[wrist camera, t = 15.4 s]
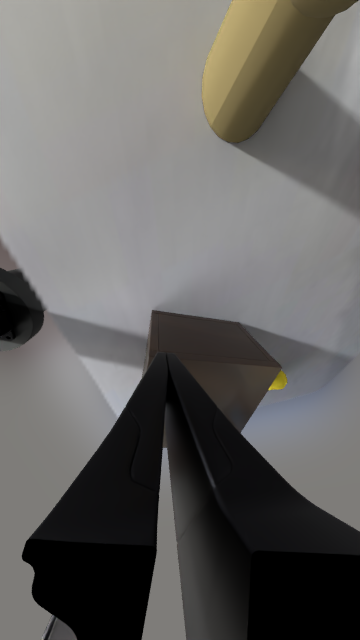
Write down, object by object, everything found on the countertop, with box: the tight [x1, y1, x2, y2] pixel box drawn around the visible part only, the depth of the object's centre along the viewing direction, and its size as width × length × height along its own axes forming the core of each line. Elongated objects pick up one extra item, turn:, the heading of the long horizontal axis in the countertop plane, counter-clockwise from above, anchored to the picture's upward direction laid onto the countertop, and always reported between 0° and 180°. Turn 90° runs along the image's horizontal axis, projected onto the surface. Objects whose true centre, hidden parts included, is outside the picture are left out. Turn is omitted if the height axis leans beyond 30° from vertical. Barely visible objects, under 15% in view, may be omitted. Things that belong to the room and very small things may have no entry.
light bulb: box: [268, 371, 287, 390], centre depth 28 cm, size 3×6×4 cm, turn 174°
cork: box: [202, 0, 358, 143], centre depth 8 cm, size 6×6×11 cm
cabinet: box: [142, 310, 282, 448], centre depth 21 cm, size 14×13×9 cm
